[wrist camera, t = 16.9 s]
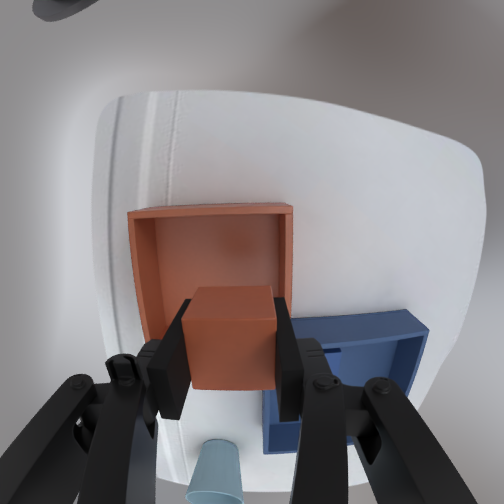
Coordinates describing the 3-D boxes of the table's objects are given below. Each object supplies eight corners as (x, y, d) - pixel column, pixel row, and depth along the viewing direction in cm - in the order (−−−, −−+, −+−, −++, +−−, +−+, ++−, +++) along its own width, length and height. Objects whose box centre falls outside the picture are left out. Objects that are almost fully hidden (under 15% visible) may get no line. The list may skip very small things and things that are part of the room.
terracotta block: (198, 286, 15) (180, 318, 11) (271, 284, 15) (277, 317, 11) (204, 347, 16) (192, 389, 12) (271, 347, 16) (275, 390, 12)
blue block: (296, 334, 28) (302, 355, 24) (332, 332, 28) (342, 352, 24) (294, 364, 29) (299, 386, 25) (328, 361, 29) (336, 382, 25)
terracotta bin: (150, 207, 26) (126, 212, 21) (284, 202, 26) (293, 206, 20) (163, 327, 29) (147, 353, 23) (283, 328, 29) (288, 356, 23)
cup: (195, 457, 35) (187, 506, 24) (194, 431, 33) (183, 487, 23) (242, 462, 35) (240, 512, 25) (246, 437, 33) (246, 494, 23)
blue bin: (262, 319, 28) (264, 346, 23) (406, 309, 28) (429, 329, 23) (262, 425, 32) (263, 454, 27) (378, 411, 32) (390, 436, 27)
